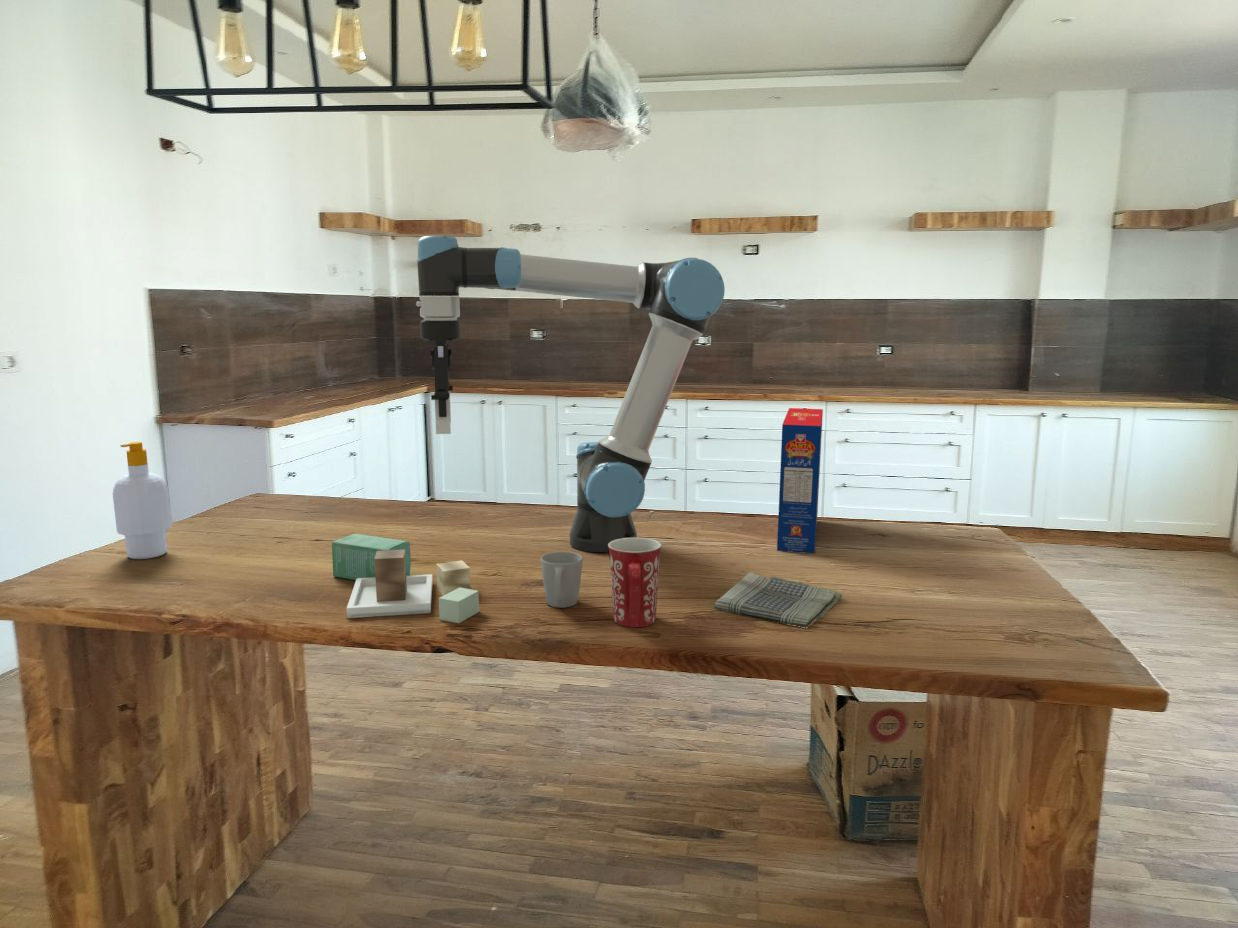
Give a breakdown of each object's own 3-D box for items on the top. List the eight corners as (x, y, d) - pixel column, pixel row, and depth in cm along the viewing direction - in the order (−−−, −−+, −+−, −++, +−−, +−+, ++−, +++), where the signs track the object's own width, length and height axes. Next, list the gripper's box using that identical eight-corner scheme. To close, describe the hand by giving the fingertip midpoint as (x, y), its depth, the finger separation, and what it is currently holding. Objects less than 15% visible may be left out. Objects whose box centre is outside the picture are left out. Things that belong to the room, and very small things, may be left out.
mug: (609, 609, 151) (609, 536, 149) (660, 610, 151) (661, 537, 148) (604, 637, 139) (604, 558, 136) (660, 638, 138) (661, 559, 136)
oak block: (463, 585, 164) (462, 560, 163) (470, 593, 159) (469, 567, 158) (437, 589, 162) (436, 563, 161) (444, 597, 157) (443, 571, 156)
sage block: (460, 608, 152) (459, 587, 151) (479, 612, 150) (478, 590, 149) (439, 620, 146) (438, 597, 146) (458, 623, 145) (458, 601, 144)
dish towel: (808, 633, 142) (809, 615, 142) (712, 611, 152) (712, 594, 151) (843, 600, 158) (844, 584, 157) (754, 582, 167) (754, 567, 167)
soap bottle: (108, 558, 179) (94, 445, 174) (151, 545, 188) (139, 437, 183) (143, 564, 175) (131, 448, 170) (185, 550, 184) (174, 440, 180)
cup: (584, 595, 158) (584, 551, 156) (579, 615, 148) (579, 568, 147) (544, 594, 158) (543, 550, 157) (536, 614, 149) (535, 567, 147)
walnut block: (406, 590, 158) (405, 549, 157) (405, 600, 154) (403, 557, 152) (379, 592, 157) (376, 550, 156) (376, 601, 153) (374, 558, 151)
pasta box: (784, 519, 213) (789, 408, 208) (817, 521, 211) (822, 409, 206) (776, 550, 187) (782, 424, 181) (814, 553, 185) (820, 426, 179)
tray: (432, 583, 165) (432, 574, 164) (430, 612, 149) (430, 603, 149) (357, 587, 162) (356, 578, 162) (347, 618, 147) (346, 608, 146)
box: (390, 586, 163) (388, 548, 161) (332, 578, 168) (330, 541, 166) (412, 575, 169) (410, 538, 168) (356, 567, 174) (354, 532, 173)
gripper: (422, 317, 175) (426, 419, 180) (417, 321, 151) (422, 439, 155) (459, 317, 177) (462, 419, 181) (460, 321, 153) (463, 438, 157)
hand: (443, 428), depth 168 cm, fingers open, 13 cm apart
